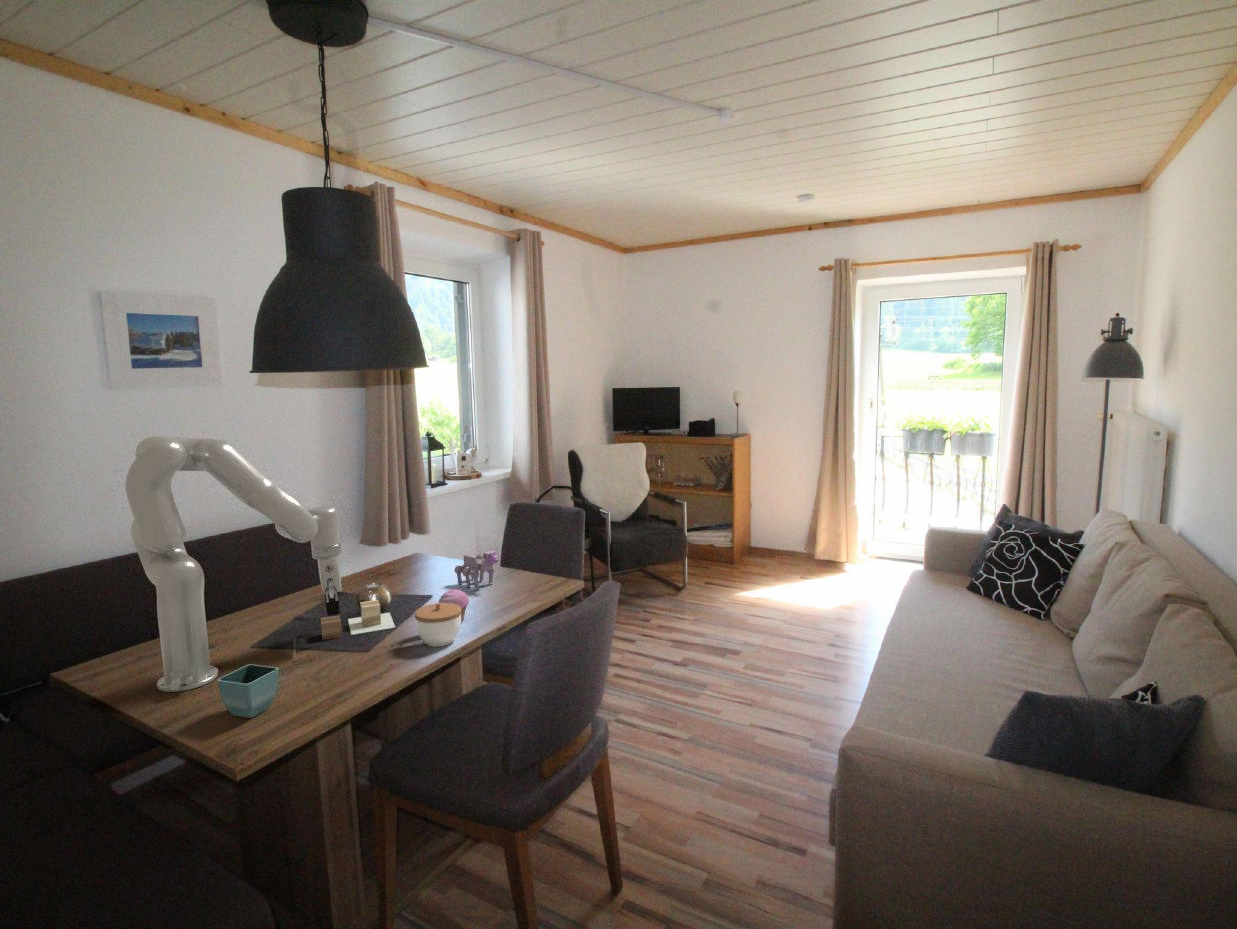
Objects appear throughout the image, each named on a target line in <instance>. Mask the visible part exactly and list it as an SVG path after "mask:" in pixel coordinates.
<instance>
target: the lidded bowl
mask: <svg viewBox="0 0 1237 929" xmlns="http://www.w3.org/2000/svg"><path fill="white" fill-rule="evenodd" d="M414 619H415V621H414V622H415V627H416V631H417V634H418V636H419V638H420V639H421V641H423V642H424V643H426V644H425V645H427V646H429V647H433V648H434V647H435V648H437V647H444V646H448V645H450V644H452V643H453V641H454V639H455V638H456V637H457V635H458V634H459V632H460V629H461V625H462V621H461V607H460V606H459V605H456V604H451V603H438V602H436V603H431V604H427V605H424V606H422V607H419V608H418V609H416V610H415V611H414Z"/></svg>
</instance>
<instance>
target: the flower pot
mask: <svg viewBox="0 0 1237 929" xmlns="http://www.w3.org/2000/svg"><path fill="white" fill-rule="evenodd" d="M279 671H280V668H279V667H275V666H267V665H259V664H252V663H251V664H245V665H244V666H242V667H240V668H238V669H235V670H233V671H231V672H230V673H227V674H226V675H223V676H221V677H220V678H217V680H216V682H217V688H218V690H219V695H220V698H221V701H222V703H223V705H224V707H225V708H226V709H227V710H228V711H229V712H230V713H231V715H233V716H236V717H242V718H247V719H249V718H250V719H252V718H254V717H256V716H257V715H259V714H261V713H263V712H264V711H266V710H267V709H269V708H270V707H271V705H272V704H273V702H274V700H275V697H276V695H277V691H278V685H279V675H280V673H279Z"/></svg>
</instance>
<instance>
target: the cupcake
mask: <svg viewBox="0 0 1237 929" xmlns="http://www.w3.org/2000/svg"><path fill="white" fill-rule="evenodd" d="M437 603H451V604H456V605H459V606H460V607H461V622H463V621H464V619H465V615H466V610H467V608H468V606H469V603H470V600H469V596H468V595H467V593H466V592H464V591H462V590H460V589H449V590H446V591H445V592H444V593H443V594H442V595H441V596H440V598H439V599H438V602H437Z"/></svg>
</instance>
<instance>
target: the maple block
mask: <svg viewBox="0 0 1237 929" xmlns="http://www.w3.org/2000/svg"><path fill="white" fill-rule="evenodd" d="M359 604H360V615H361V616H360V617H361V620H362V625H363V627H368V626H374V625H380V624H381V615H380V614H381V605H380V601H379V599H375V600H368V601H367V600H366V601H361V602H359Z"/></svg>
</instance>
